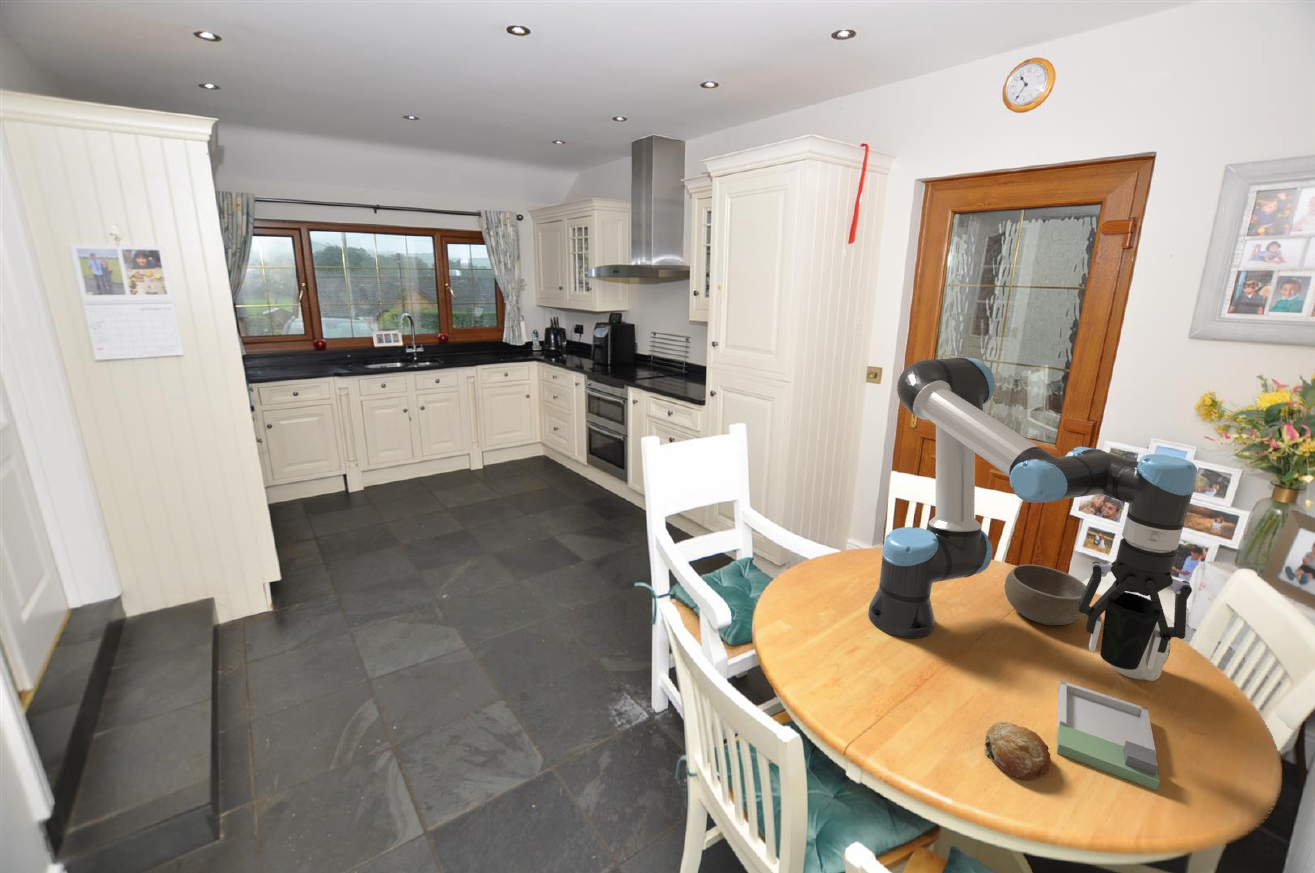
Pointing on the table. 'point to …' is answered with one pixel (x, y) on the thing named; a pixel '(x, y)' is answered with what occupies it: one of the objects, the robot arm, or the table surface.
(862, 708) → the table surface
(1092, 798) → the table surface
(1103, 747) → the green and grey tray
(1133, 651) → the cup
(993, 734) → the bread roll
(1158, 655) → the pitcher
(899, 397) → the robot arm
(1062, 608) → the bowl
